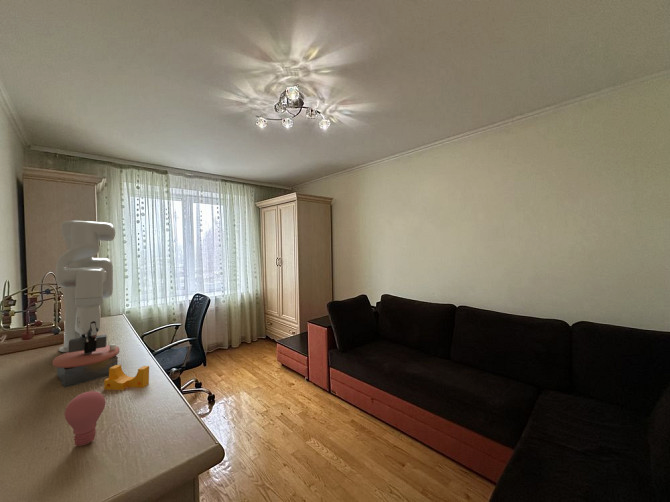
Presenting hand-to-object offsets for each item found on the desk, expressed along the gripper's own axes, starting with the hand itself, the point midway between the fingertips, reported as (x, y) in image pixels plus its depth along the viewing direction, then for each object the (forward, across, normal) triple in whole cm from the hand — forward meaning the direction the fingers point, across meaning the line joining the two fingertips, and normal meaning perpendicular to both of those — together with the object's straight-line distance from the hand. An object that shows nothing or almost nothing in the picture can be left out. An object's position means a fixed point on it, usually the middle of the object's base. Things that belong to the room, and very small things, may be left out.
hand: (87, 350), depth 97 cm
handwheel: (+3, 0, 0) cm, 3 cm away
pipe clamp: (+9, +22, +5) cm, 25 cm away
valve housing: (+9, 0, 0) cm, 9 cm away
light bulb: (+9, +46, -12) cm, 48 cm away
